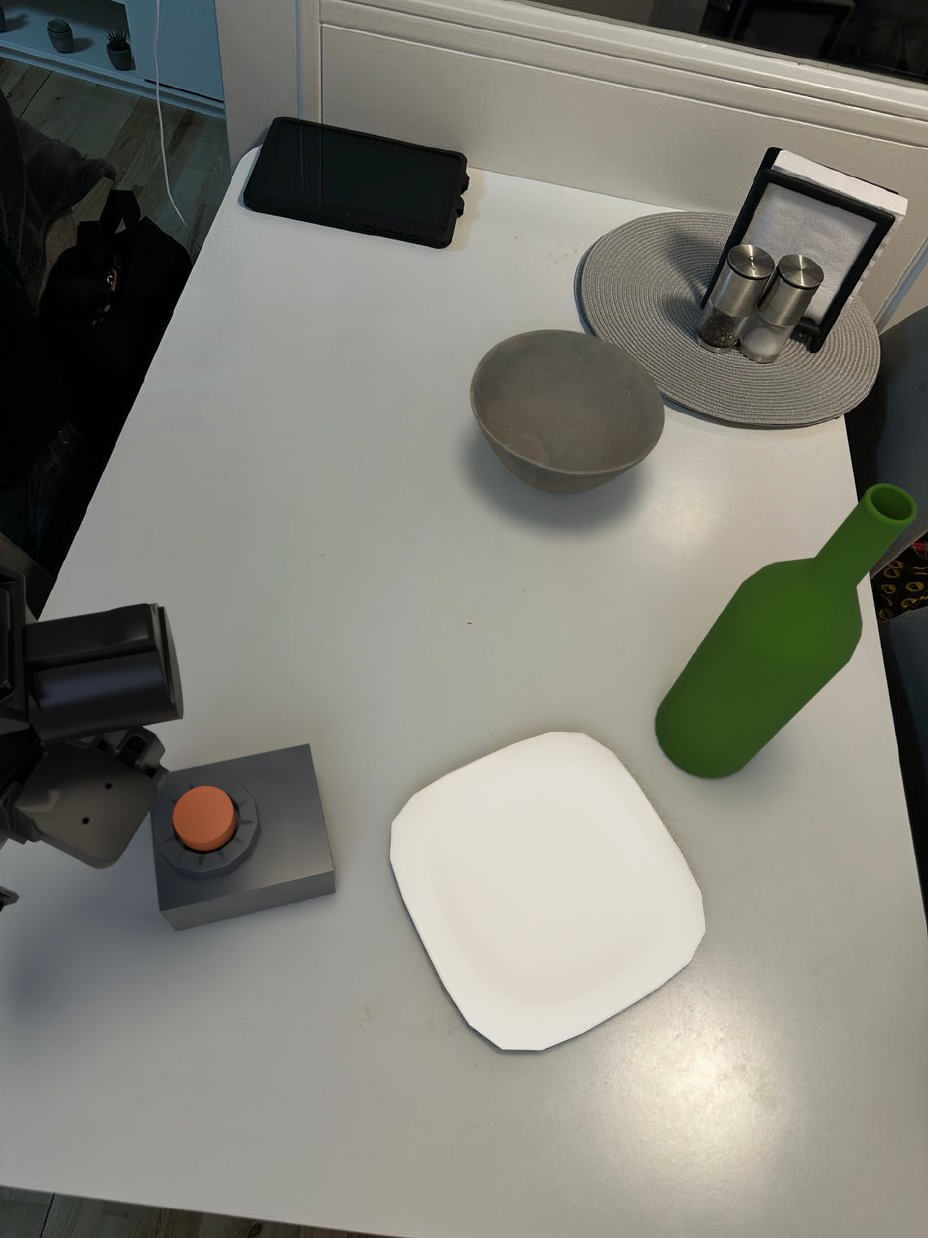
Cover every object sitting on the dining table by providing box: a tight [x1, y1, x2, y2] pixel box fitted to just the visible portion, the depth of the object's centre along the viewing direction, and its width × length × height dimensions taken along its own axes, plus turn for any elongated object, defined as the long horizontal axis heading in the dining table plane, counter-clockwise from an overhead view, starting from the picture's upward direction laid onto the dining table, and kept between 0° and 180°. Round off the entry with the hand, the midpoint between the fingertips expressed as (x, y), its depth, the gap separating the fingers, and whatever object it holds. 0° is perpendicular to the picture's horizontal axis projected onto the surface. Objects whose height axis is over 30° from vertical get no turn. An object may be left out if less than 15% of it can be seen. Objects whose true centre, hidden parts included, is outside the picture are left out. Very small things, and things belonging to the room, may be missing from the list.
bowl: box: [469, 328, 666, 495], centre depth 88 cm, size 19×19×10 cm
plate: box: [389, 731, 707, 1051], centre depth 69 cm, size 22×22×2 cm
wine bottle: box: [655, 482, 918, 780], centre depth 64 cm, size 9×9×32 cm
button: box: [173, 786, 237, 851], centre depth 61 cm, size 4×4×2 cm
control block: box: [148, 743, 337, 933], centre depth 65 cm, size 12×10×8 cm
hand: (57, 828), depth 56 cm, fingers open, 9 cm apart
